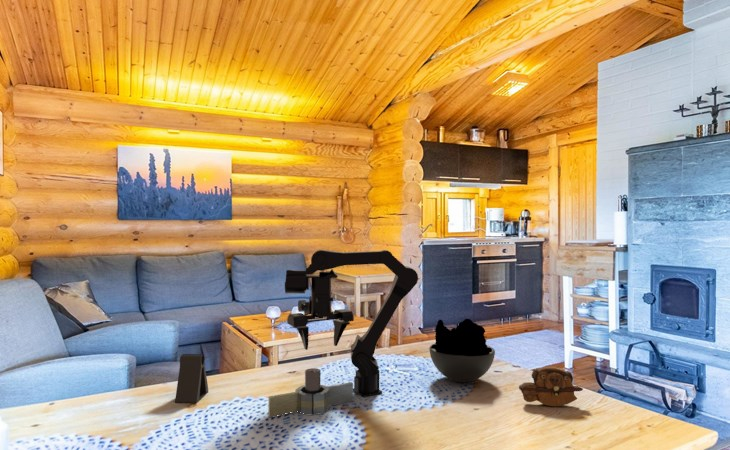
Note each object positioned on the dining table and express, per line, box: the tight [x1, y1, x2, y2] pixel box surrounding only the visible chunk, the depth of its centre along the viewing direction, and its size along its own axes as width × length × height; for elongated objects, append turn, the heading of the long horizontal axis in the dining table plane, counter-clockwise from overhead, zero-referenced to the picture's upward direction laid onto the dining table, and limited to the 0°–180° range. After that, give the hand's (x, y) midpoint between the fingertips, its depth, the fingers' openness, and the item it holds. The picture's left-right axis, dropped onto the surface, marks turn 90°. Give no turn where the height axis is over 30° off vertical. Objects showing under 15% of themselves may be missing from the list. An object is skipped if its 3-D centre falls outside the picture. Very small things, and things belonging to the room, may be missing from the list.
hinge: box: [267, 381, 354, 418], centre depth 128 cm, size 24×8×5 cm, turn 120°
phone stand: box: [174, 353, 209, 404], centre depth 136 cm, size 9×6×12 cm, turn 177°
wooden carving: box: [518, 366, 584, 407], centre depth 131 cm, size 16×5×10 cm, turn 89°
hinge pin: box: [304, 367, 321, 394], centre depth 128 cm, size 4×4×10 cm
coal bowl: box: [428, 318, 496, 383], centre depth 152 cm, size 20×20×19 cm
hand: (321, 347), depth 140 cm, fingers open, 9 cm apart
